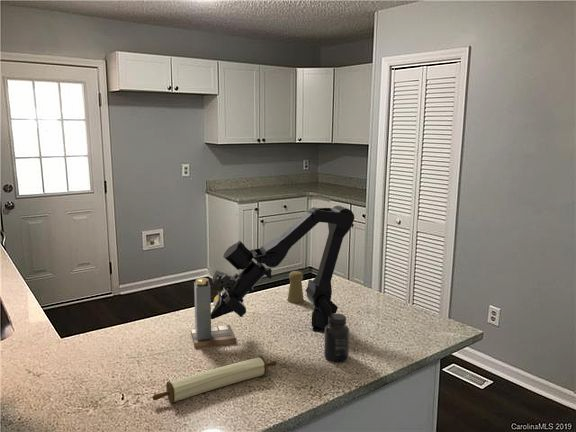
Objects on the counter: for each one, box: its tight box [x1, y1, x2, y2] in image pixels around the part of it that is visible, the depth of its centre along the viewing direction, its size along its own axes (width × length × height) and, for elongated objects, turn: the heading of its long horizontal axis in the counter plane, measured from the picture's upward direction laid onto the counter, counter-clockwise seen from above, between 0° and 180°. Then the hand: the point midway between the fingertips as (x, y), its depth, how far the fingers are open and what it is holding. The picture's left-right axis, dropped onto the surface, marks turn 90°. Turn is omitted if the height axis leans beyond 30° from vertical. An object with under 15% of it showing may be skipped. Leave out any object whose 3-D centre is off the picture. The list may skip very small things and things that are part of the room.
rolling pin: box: [151, 355, 277, 405], centre depth 115 cm, size 32×6×5 cm, turn 121°
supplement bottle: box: [323, 313, 350, 363], centre depth 130 cm, size 7×7×12 cm
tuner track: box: [190, 324, 237, 349], centre depth 142 cm, size 12×10×2 cm
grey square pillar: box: [193, 277, 212, 340], centre depth 139 cm, size 4×9×17 cm, turn 17°
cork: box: [286, 270, 305, 305], centre depth 172 cm, size 6×6×11 cm
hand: (210, 318), depth 138 cm, fingers closed, pressing on grey square pillar
